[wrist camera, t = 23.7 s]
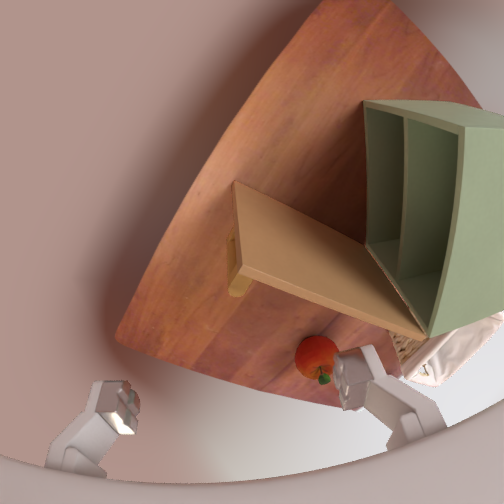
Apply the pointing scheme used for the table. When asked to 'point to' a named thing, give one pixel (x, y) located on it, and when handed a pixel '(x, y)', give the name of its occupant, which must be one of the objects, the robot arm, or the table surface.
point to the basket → (442, 350)
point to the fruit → (316, 358)
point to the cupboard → (437, 207)
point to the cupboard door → (309, 263)
